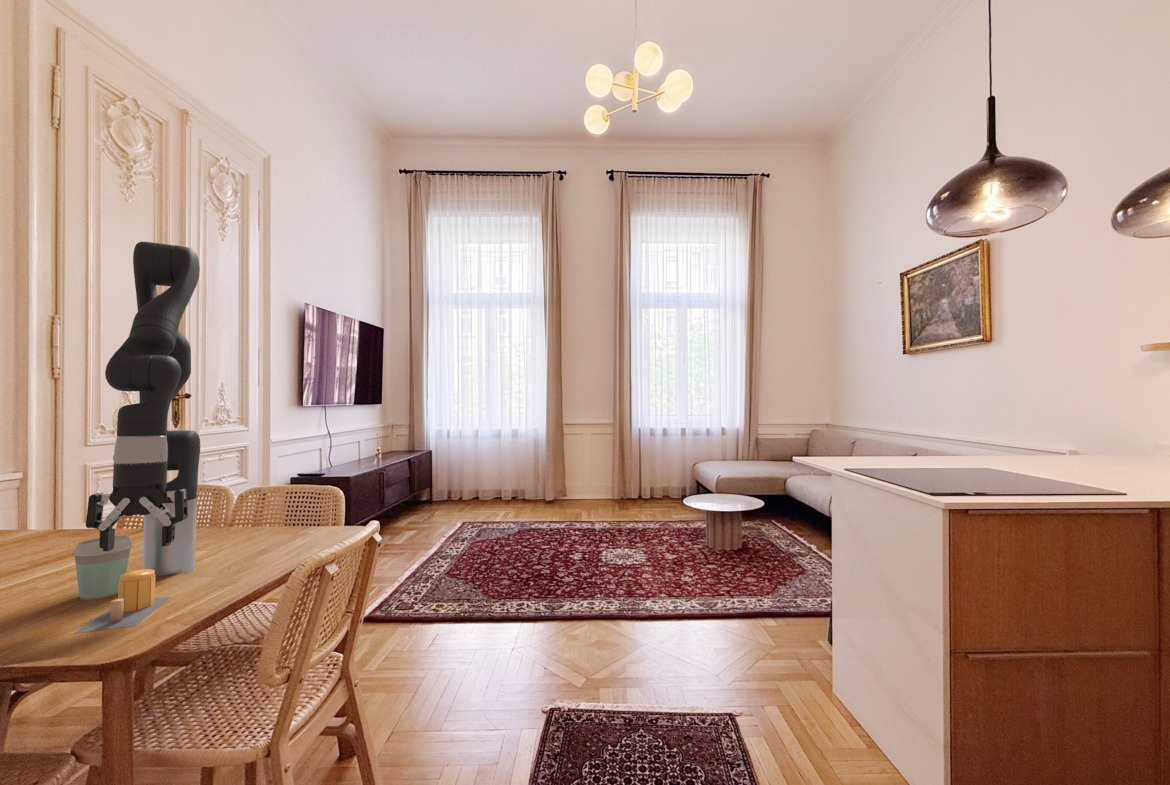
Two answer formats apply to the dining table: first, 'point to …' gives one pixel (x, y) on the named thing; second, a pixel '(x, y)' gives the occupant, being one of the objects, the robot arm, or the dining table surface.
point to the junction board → (126, 616)
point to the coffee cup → (100, 567)
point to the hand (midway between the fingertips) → (137, 547)
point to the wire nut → (137, 589)
